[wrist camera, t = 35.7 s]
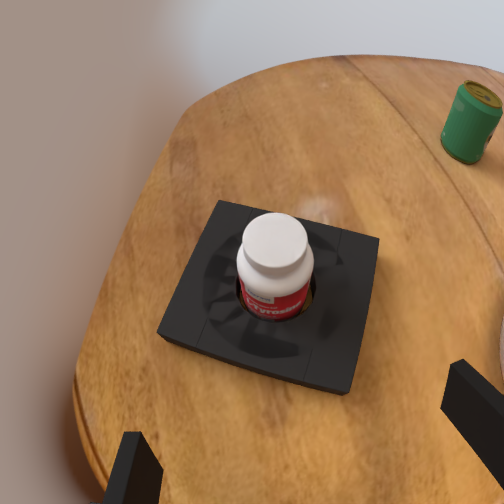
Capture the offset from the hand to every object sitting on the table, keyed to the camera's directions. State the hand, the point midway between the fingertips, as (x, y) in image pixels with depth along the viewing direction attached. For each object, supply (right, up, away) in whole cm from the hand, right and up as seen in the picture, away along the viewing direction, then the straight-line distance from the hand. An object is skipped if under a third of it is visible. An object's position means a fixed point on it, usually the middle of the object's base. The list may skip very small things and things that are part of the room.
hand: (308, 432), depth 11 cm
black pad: (0, +3, +21) cm, 21 cm away
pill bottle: (0, +2, +21) cm, 21 cm away
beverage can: (+33, +24, +31) cm, 51 cm away
